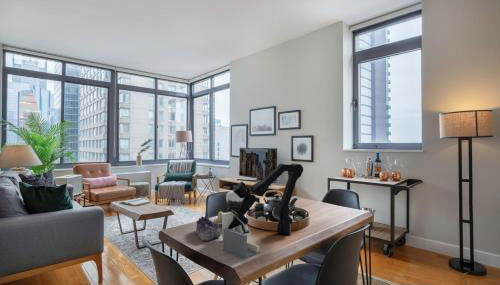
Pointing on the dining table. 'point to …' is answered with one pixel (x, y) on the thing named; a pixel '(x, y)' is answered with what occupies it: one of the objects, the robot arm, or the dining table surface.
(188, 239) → the dining table surface
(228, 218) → the white tapered vase
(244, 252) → the bookend
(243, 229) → the hinge
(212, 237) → the geode
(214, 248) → the dining table surface
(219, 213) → the beige lumpy piece
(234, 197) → the heart sculpture
